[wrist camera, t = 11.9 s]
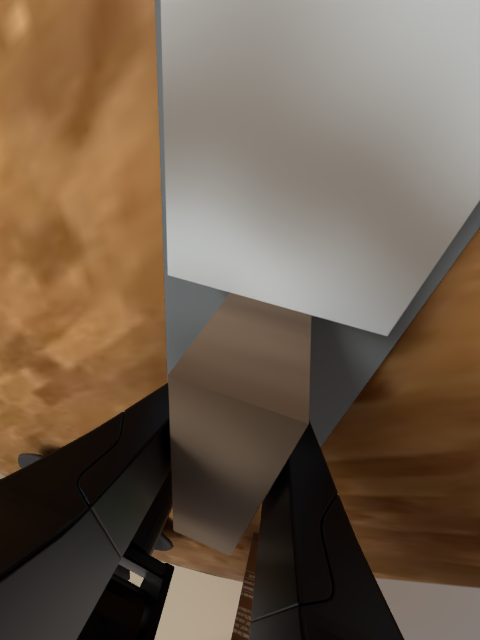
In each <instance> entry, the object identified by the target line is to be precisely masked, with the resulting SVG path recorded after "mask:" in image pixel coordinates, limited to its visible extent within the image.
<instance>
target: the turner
mask: <svg viewBox="0 0 480 640" xmlns="http://www.w3.org/2000/svg"><path fill="white" fill-rule="evenodd" d="M161 37H162V75H163V113H164V152H165V190H166V228H167V266H168V275H169V276H173V277H176V278H180V279H184V280H187V281H191V282H194V283H198V284H201V285H205V286H209V287H212V288H216V289H219V290H223V291H227V292H230V293H229V295H228V296H227V297H226V299H225V300H224V301H223V303H222V304H221V305H220V307H219V308H218V309H217V311H216V312H215V313H214V315H213V316H212V317H211V319H210V320H209V321H208V323H207V324H206V325H205V327H204V328H203V329H202V331H201V332H200V333H199V335H198V336H197V337H196V339H195V340H194V341H193V343H192V344H191V345H190V347H189V348H188V349H187V351H186V352H185V353H184V354H183V356H182V357H181V358H180V360H179V361H178V362H177V364H176V365H175V366H174V368H173V369H172V370H171V372H170V373H169V374H168V387H169V416H170V445H171V474H172V503H173V531H175V532H177V533H180V534H182V535H184V536H186V537H188V538H191V539H193V540H195V541H197V542H199V543H202V544H204V545H206V546H208V547H210V548H212V549H215V550H217V551H219V552H221V553H223V554H226V555H228V556H231V554H232V552H233V551H234V549H235V547H236V545H237V544H238V542H239V540H240V539H241V537H242V535H243V534H244V532H245V530H246V529H247V527H248V525H249V524H250V522H251V520H252V519H253V517H254V515H255V514H256V512H257V510H258V508H259V507H260V505H261V503H262V502H263V500H264V498H265V497H266V495H267V493H268V492H269V490H270V488H271V487H272V485H273V483H274V482H275V480H276V478H277V477H278V475H279V473H280V471H281V470H282V468H283V466H284V465H285V463H286V461H287V460H288V458H289V456H290V455H291V453H292V451H293V450H294V448H295V446H296V445H297V443H298V441H299V439H300V438H301V436H302V434H303V433H304V431H305V429H306V428H307V426H308V424H309V391H310V349H311V315H313V316H316V317H320V318H323V319H327V320H331V321H334V322H338V323H341V324H345V325H349V326H352V327H356V328H359V329H363V330H367V331H370V332H374V333H377V334H381V335H384V336H388V334H389V333H390V331H391V330H392V328H393V327H394V326H395V324H396V323H397V321H398V320H399V318H400V317H401V315H402V314H403V312H404V311H405V309H406V308H407V306H408V305H409V303H410V302H411V301H412V299H413V298H414V296H415V295H416V293H417V292H418V290H419V289H420V287H421V286H422V284H423V283H424V281H425V280H426V278H427V277H428V276H429V274H430V273H431V271H432V270H433V268H434V267H435V265H436V264H437V262H438V261H439V259H440V258H441V256H442V255H443V253H444V252H445V251H446V249H447V248H448V246H449V245H450V243H451V242H452V240H453V239H454V237H455V236H456V234H457V233H458V231H459V230H460V228H461V227H462V226H463V224H464V223H465V221H466V220H467V218H468V217H469V215H470V214H471V212H472V211H473V209H474V208H475V206H476V205H477V203H478V202H479V201H480V0H161Z"/></svg>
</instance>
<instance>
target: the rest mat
mask: <svg viewBox="0 0 480 640" xmlns="http://www.w3.org/2000/svg"><path fill="white" fill-rule="evenodd" d="M155 17H156V47H157V76H158V106H159V136H160V166H161V196H162V225H163V255H164V285H165V315H166V345H167V375H168V374H169V373H170V372H171V370H172V369H173V368H174V366H175V365H176V364H177V362H178V361H179V360H180V358H181V357H182V356H183V354H184V353H185V352H186V351H187V349H188V348H189V347H190V345H191V344H192V343H193V341H194V340H195V339H196V337H197V336H198V335H199V333H200V332H201V331H202V329H203V328H204V327H205V325H206V324H207V323H208V321H209V320H210V319H211V317H212V316H213V315H214V313H215V312H216V311H217V309H218V308H219V307H220V305H221V304H222V303H223V301H224V300H225V299H226V297H227V296H228V295H229V293H230V292H227V291H223V290H219V289H216V288H212V287H209V286H205V285H201V284H198V283H194V282H191V281H187V280H184V279H180V278H176V277H173V276H169V275H168V266H167V228H166V190H165V152H164V113H163V75H162V37H161V0H155ZM479 227H480V201H479V202H478V203H477V205H476V206H475V208H474V209H473V211H472V212H471V214H470V215H469V217H468V218H467V220H466V221H465V223H464V224H463V226H462V227H461V228H460V230H459V231H458V233H457V234H456V236H455V237H454V239H453V240H452V242H451V243H450V245H449V246H448V248H447V249H446V251H445V252H444V253H443V255H442V256H441V258H440V259H439V261H438V262H437V264H436V265H435V267H434V268H433V270H432V271H431V273H430V274H429V276H428V277H427V278H426V280H425V281H424V283H423V284H422V286H421V287H420V289H419V290H418V292H417V293H416V295H415V296H414V298H413V299H412V301H411V302H410V303H409V305H408V306H407V308H406V309H405V311H404V312H403V314H402V315H401V317H400V318H399V320H398V321H397V323H396V324H395V326H394V327H393V328H392V330H391V331H390V333H389V334H388V336H384V335H381V334H377V333H374V332H370V331H367V330H363V329H359V328H356V327H352V326H349V325H345V324H341V323H338V322H334V321H331V320H327V319H323V318H320V317H316V316H313V315H311V349H310V391H309V420H310V422H311V425H312V428H313V430H314V433H315V435H316V438H317V440H318V443H319V445H320V447H321V446H322V445H323V443H324V442H325V440H326V439H327V438H328V436H329V435H330V434H331V432H332V431H333V429H334V428H335V427H336V425H337V424H338V423H339V421H340V420H341V418H342V417H343V416H344V414H345V413H346V411H347V410H348V409H349V407H350V406H351V405H352V403H353V402H354V400H355V399H356V398H357V396H358V395H359V393H360V392H361V391H362V389H363V388H364V387H365V385H366V384H367V382H368V381H369V380H370V378H371V377H372V375H373V374H374V373H375V371H376V370H377V369H378V367H379V366H380V364H381V363H382V362H383V360H384V359H385V357H386V356H387V355H388V353H389V352H390V351H391V349H392V348H393V346H394V345H395V344H396V342H397V341H398V339H399V338H400V337H401V335H402V334H403V333H404V331H405V330H406V328H407V327H408V326H409V324H410V323H411V321H412V320H413V319H414V317H415V316H416V315H417V313H418V312H419V310H420V309H421V308H422V306H423V305H424V303H425V302H426V301H427V299H428V298H429V297H430V295H431V294H432V292H433V291H434V290H435V288H436V287H437V285H438V284H439V283H440V281H441V280H442V279H443V277H444V276H445V274H446V273H447V272H448V270H449V269H450V267H451V266H452V265H453V263H454V262H455V261H456V259H457V258H458V256H459V255H460V254H461V252H462V251H463V250H464V248H465V247H466V245H467V244H468V243H469V241H470V240H471V238H472V237H473V236H474V234H475V233H476V232H477V230H478V229H479Z"/></svg>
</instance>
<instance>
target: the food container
mask: <svg viewBox="0 0 480 640" xmlns="http://www.w3.org/2000/svg"><path fill="white" fill-rule="evenodd" d="M258 542H259V534H258V533H254V534H253V539H252V543H251V548H250V553H249V558H248V562H247V567H246V572H245V577H244V581H243V586H242V591H241V595H240V600H239V605H238V610H237V614H236V619H235V624H234V628H233V633H232V638H231V640H249V631H250V623H251V612H252V602H253V592H254V582H255V572H256V562H257V552H258Z"/></svg>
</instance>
